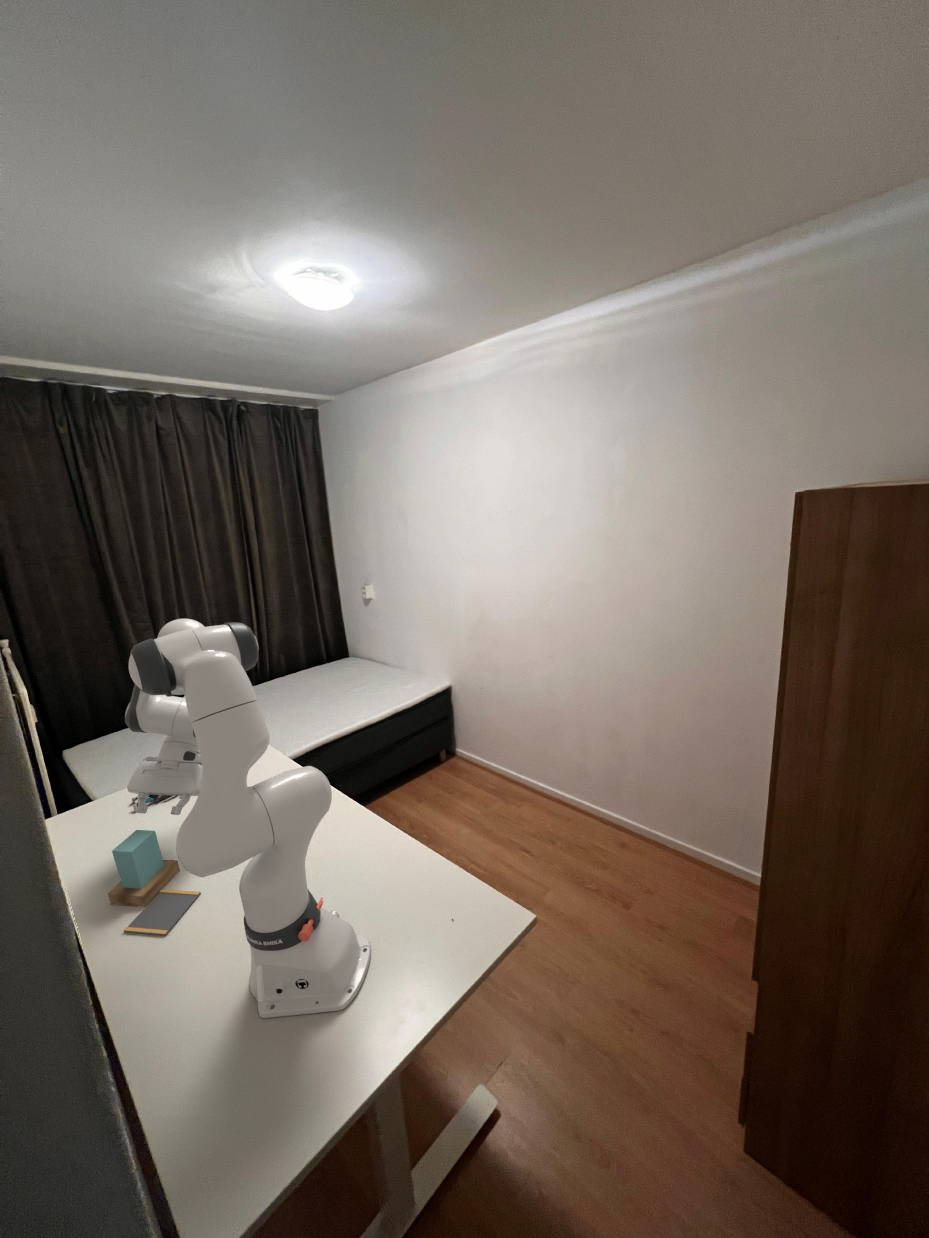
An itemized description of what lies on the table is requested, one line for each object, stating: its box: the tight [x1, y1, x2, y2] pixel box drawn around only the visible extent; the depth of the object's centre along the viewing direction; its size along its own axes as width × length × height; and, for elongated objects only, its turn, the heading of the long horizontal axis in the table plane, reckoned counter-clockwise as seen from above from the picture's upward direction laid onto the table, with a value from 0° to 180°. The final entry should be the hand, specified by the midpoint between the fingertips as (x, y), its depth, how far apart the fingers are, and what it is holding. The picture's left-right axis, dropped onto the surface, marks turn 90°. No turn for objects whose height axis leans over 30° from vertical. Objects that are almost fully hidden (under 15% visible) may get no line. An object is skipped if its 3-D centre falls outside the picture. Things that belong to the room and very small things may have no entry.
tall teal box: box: [111, 829, 164, 889], centre depth 113 cm, size 5×7×10 cm
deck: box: [107, 858, 181, 908], centre depth 114 cm, size 9×11×3 cm
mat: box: [122, 888, 202, 937], centre depth 107 cm, size 10×11×1 cm
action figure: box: [131, 795, 173, 814], centre depth 151 cm, size 8×6×18 cm
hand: (157, 813), depth 118 cm, fingers open, 8 cm apart
